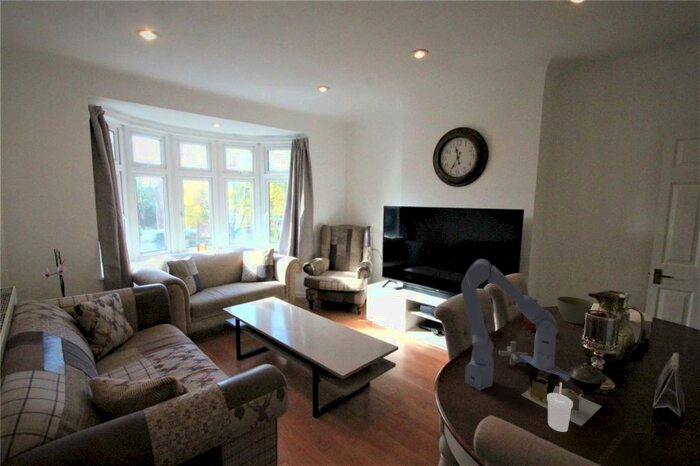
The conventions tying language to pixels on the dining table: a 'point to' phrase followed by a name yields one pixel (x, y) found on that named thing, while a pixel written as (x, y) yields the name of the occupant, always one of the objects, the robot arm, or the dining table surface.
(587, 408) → the plate
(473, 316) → the robot arm
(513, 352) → the pipe connector
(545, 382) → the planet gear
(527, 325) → the dragon fruit
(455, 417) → the dining table surface
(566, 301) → the planter bowl
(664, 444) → the dining table surface
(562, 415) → the beverage cup
